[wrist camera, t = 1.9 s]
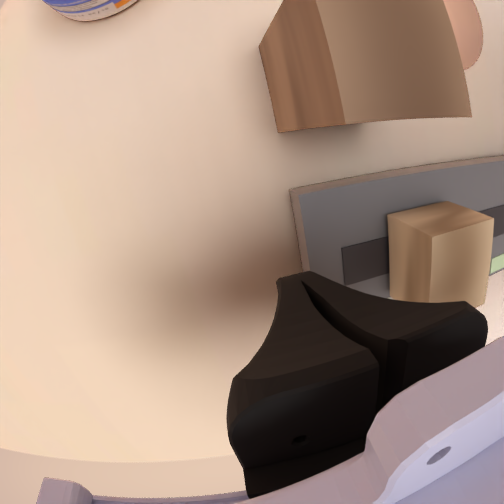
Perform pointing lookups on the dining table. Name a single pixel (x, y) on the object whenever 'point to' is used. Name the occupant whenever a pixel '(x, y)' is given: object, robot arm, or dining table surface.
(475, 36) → the coaster
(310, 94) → the block
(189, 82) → the dining table surface
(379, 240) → the switch panel
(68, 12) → the pill bottle
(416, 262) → the switch tab
